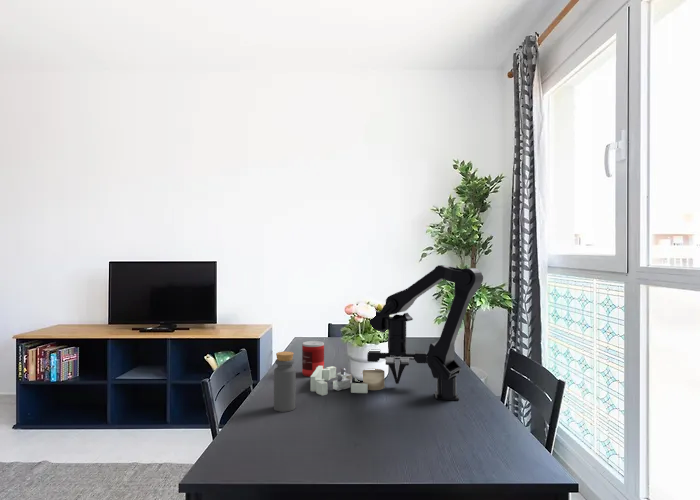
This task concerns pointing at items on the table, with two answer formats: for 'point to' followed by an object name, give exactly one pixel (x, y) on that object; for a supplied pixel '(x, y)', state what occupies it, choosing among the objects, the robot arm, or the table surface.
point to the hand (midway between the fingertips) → (397, 383)
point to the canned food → (312, 356)
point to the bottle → (284, 382)
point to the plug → (374, 379)
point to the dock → (326, 375)
